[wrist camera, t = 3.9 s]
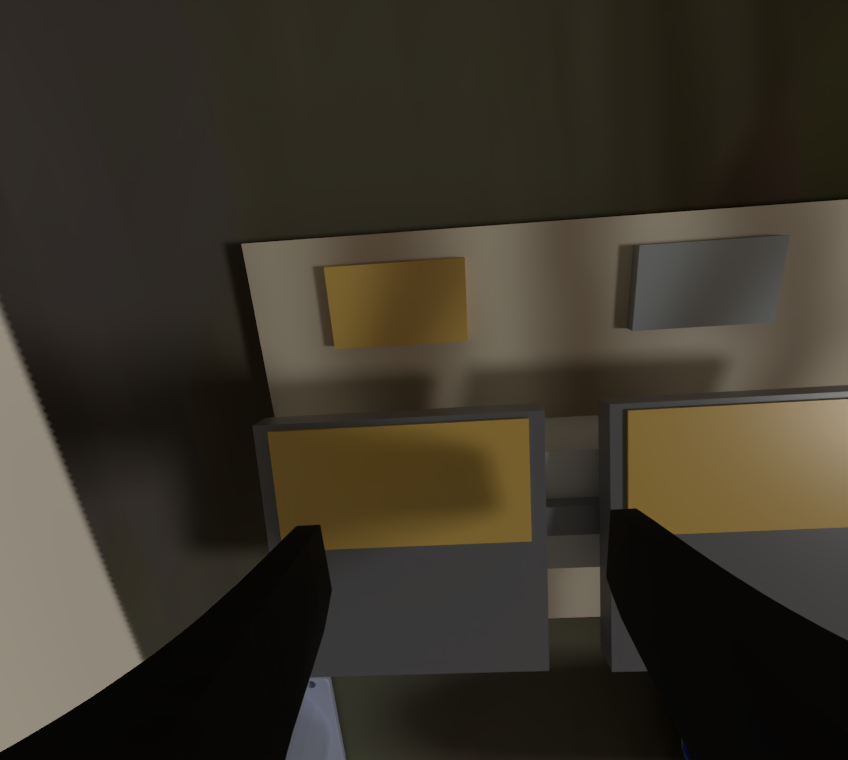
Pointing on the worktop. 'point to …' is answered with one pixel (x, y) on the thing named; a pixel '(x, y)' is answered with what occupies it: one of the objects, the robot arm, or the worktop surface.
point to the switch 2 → (734, 492)
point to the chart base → (556, 317)
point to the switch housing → (572, 492)
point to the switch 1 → (419, 534)
